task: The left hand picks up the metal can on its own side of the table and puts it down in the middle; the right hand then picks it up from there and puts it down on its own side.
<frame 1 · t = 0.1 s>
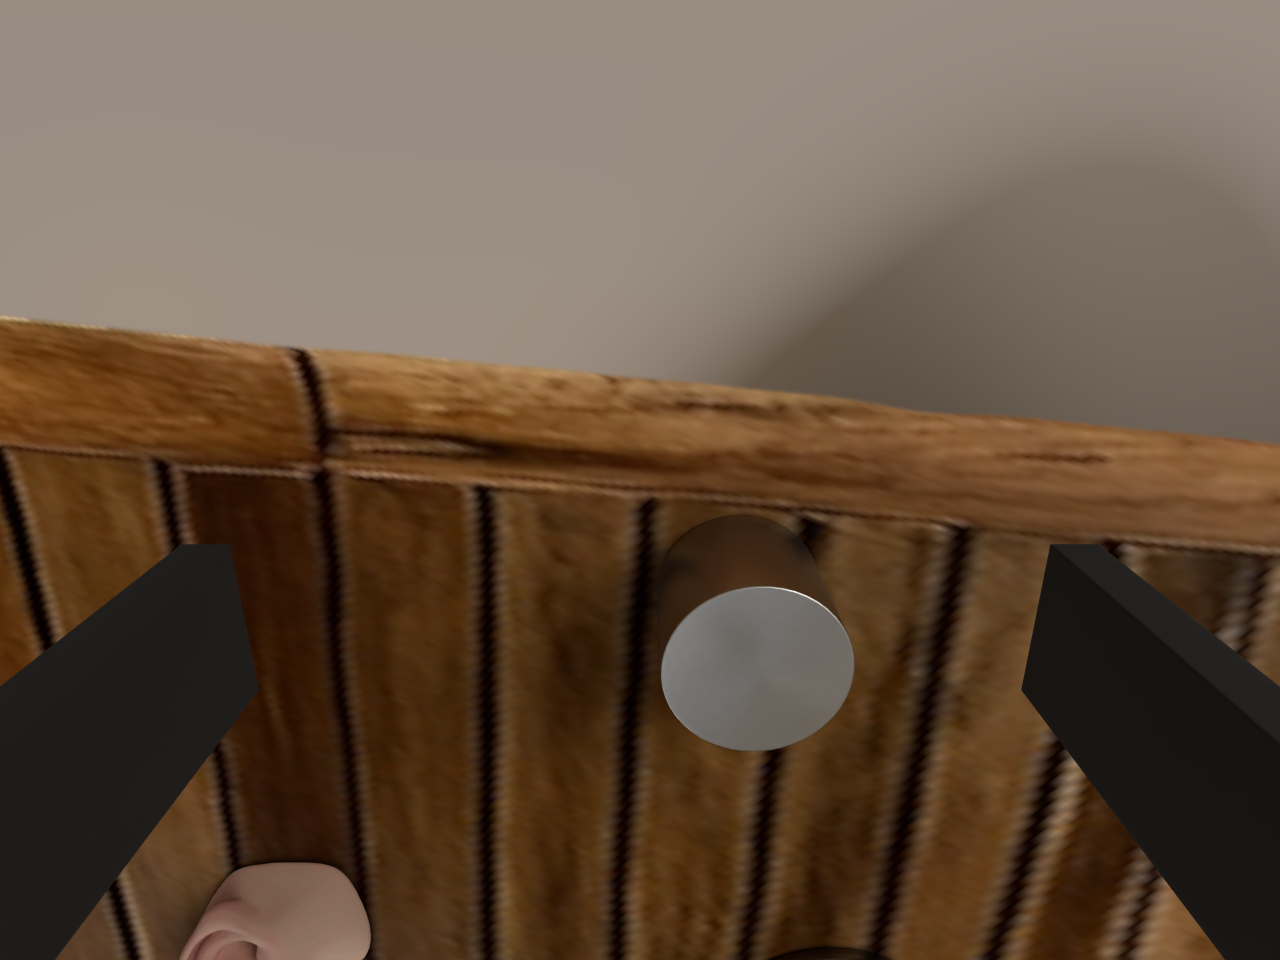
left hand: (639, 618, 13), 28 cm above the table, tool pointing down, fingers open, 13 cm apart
can: (737, 588, 44), on the table
anatomical model: (283, 927, 53), on the table
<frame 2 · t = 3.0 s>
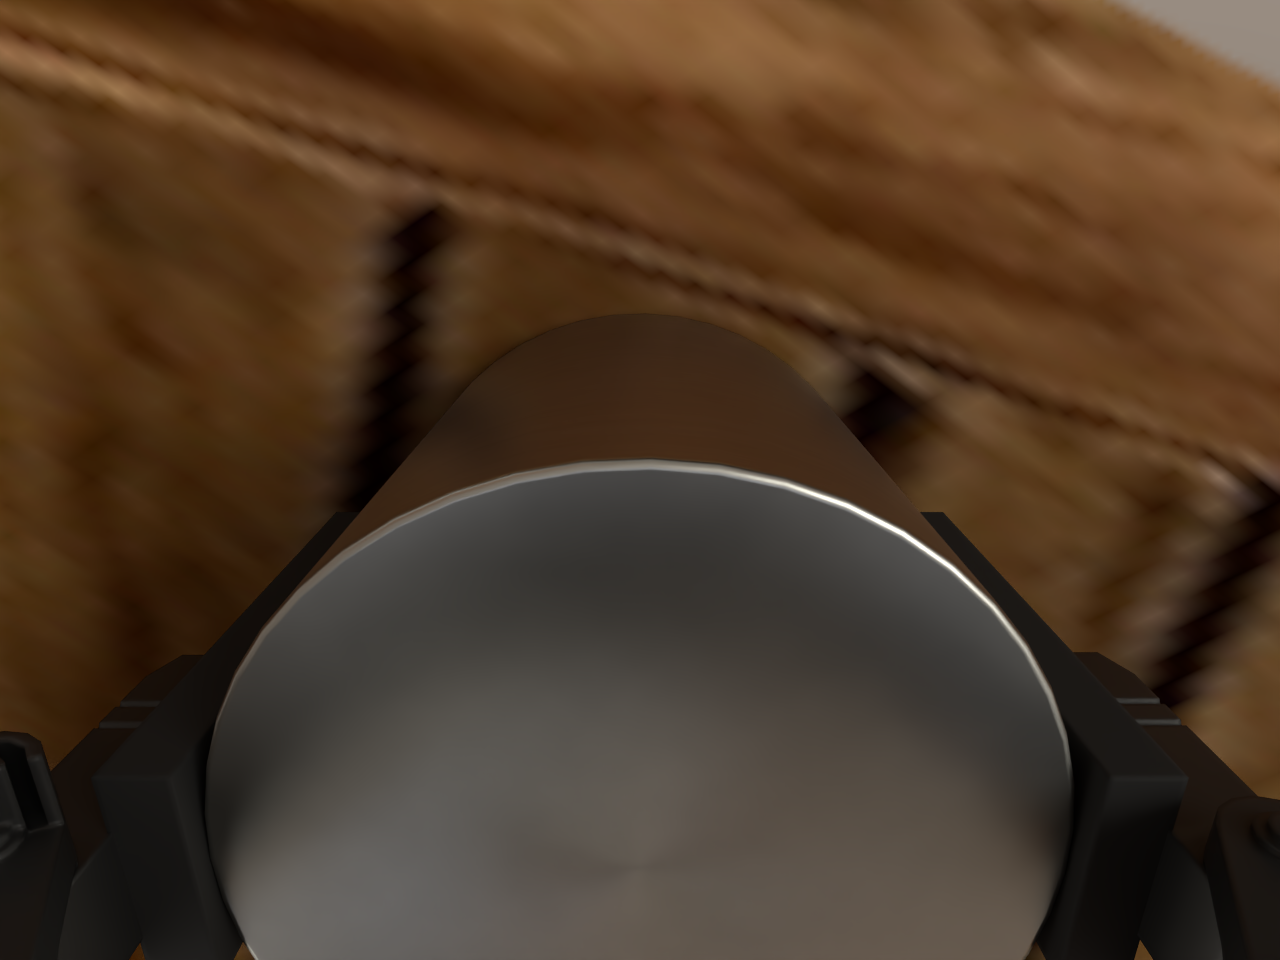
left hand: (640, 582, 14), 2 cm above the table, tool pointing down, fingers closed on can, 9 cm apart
can: (639, 538, 16), on the table, touching left hand
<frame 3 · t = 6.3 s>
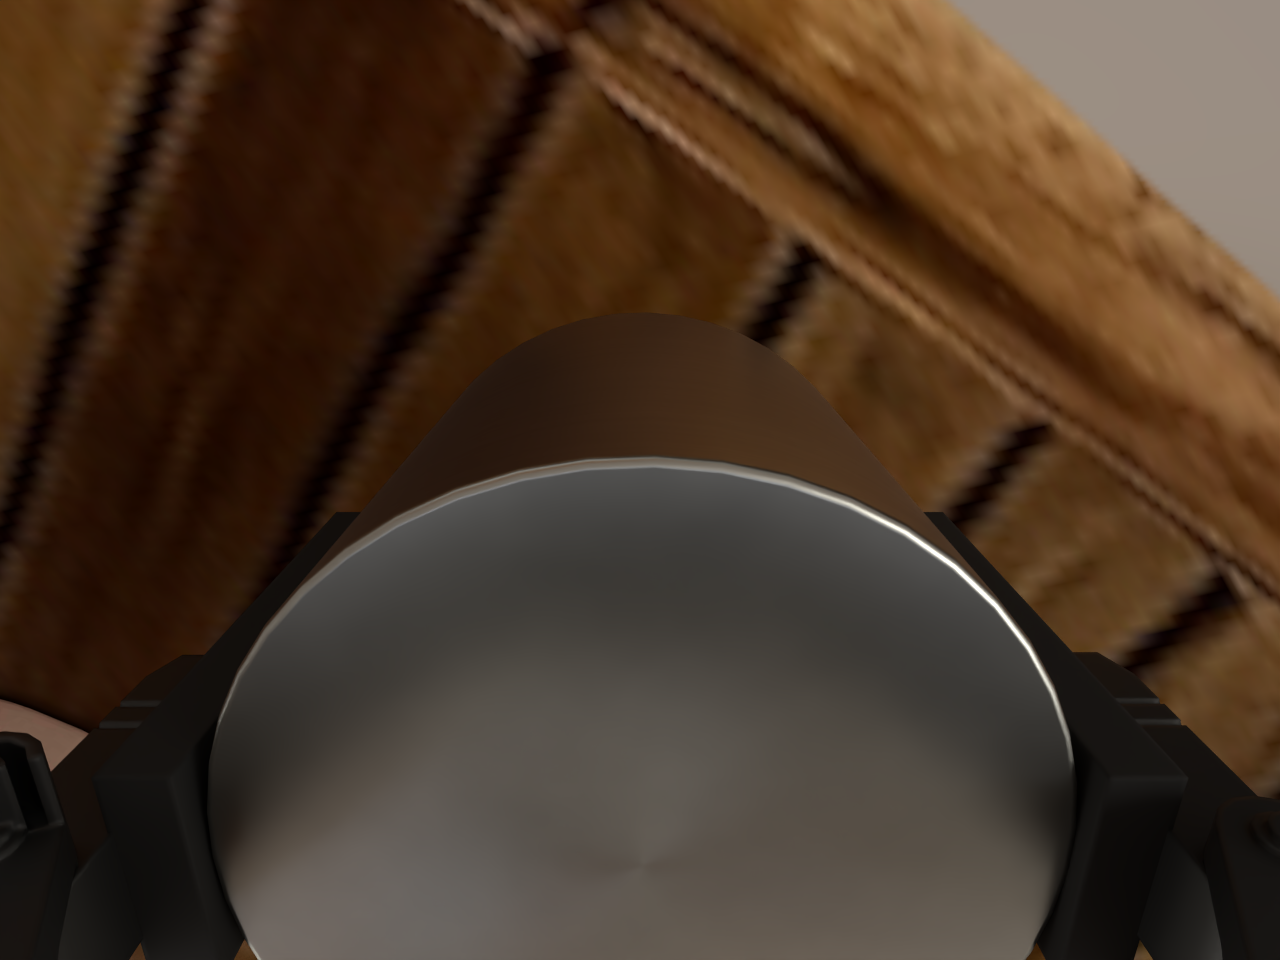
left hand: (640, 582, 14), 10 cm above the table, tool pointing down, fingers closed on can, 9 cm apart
can: (640, 537, 16), point 8 cm above the table, touching left hand
when the left hand's fingers open (3 cm above the table, at t = 9.8 s): can drops 2 cm, on the table.
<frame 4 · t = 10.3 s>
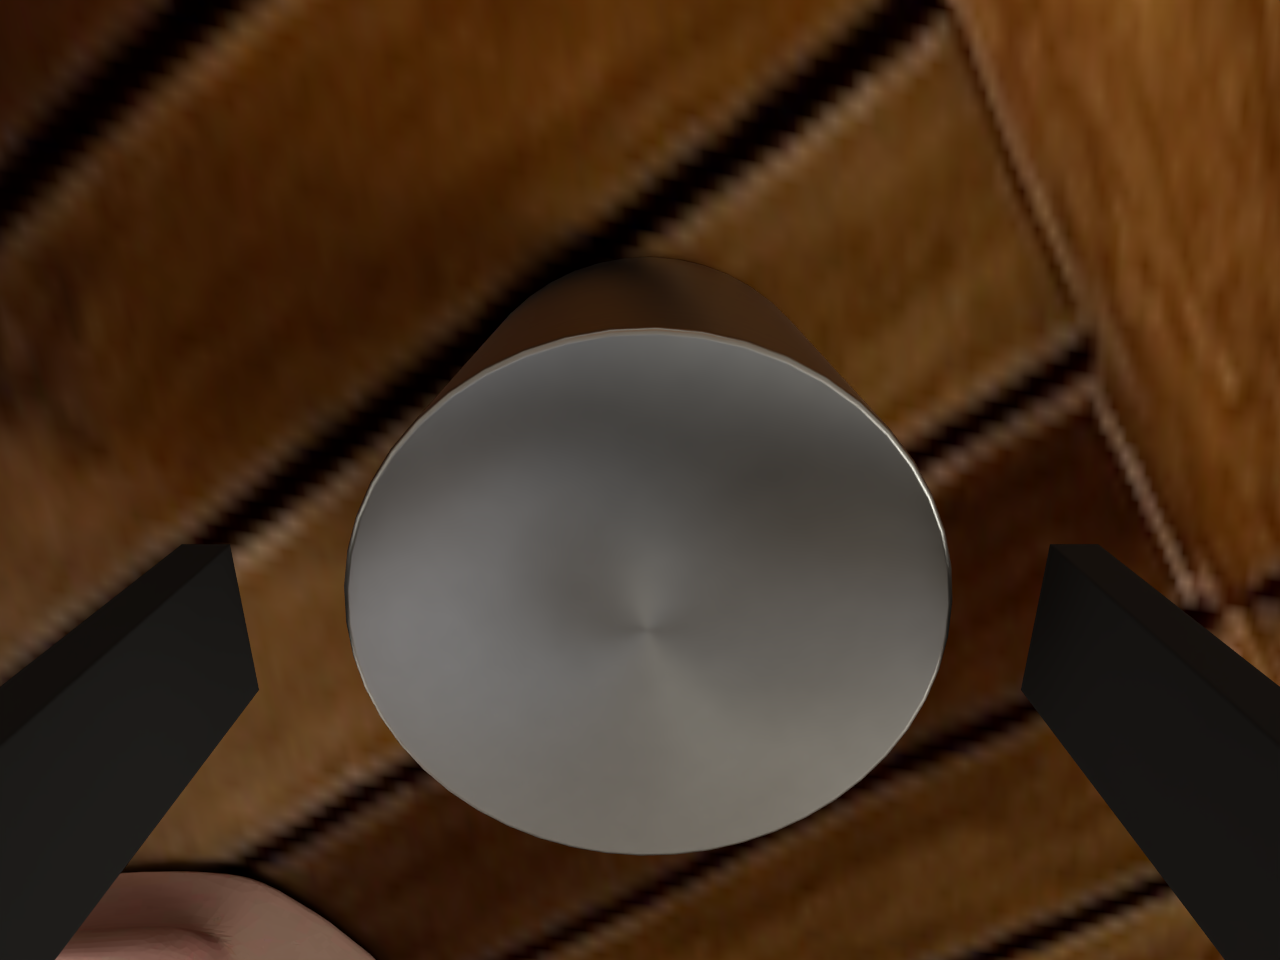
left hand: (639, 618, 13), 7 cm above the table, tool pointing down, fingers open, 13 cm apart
can: (646, 446, 19), on the table
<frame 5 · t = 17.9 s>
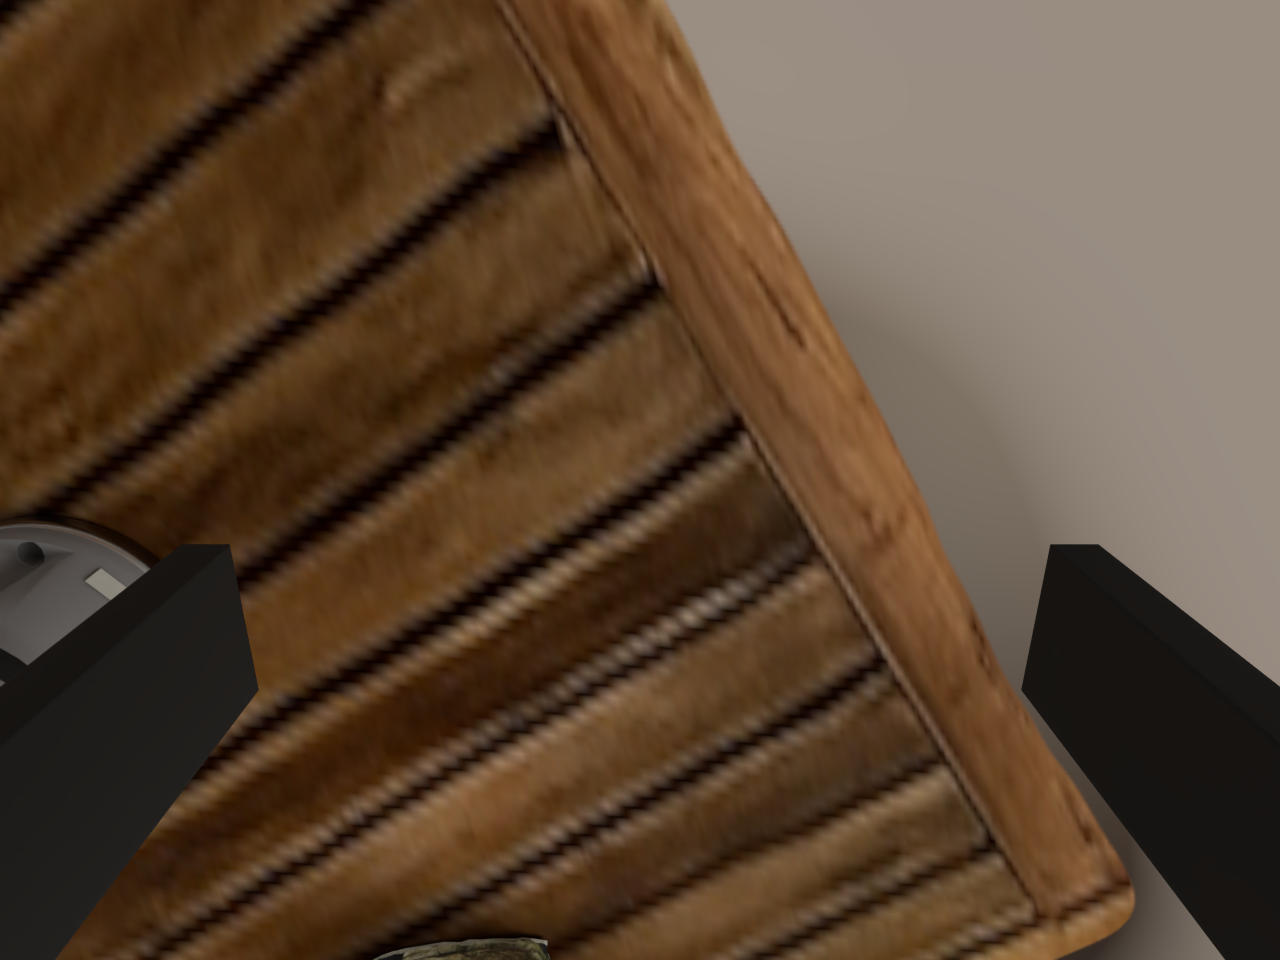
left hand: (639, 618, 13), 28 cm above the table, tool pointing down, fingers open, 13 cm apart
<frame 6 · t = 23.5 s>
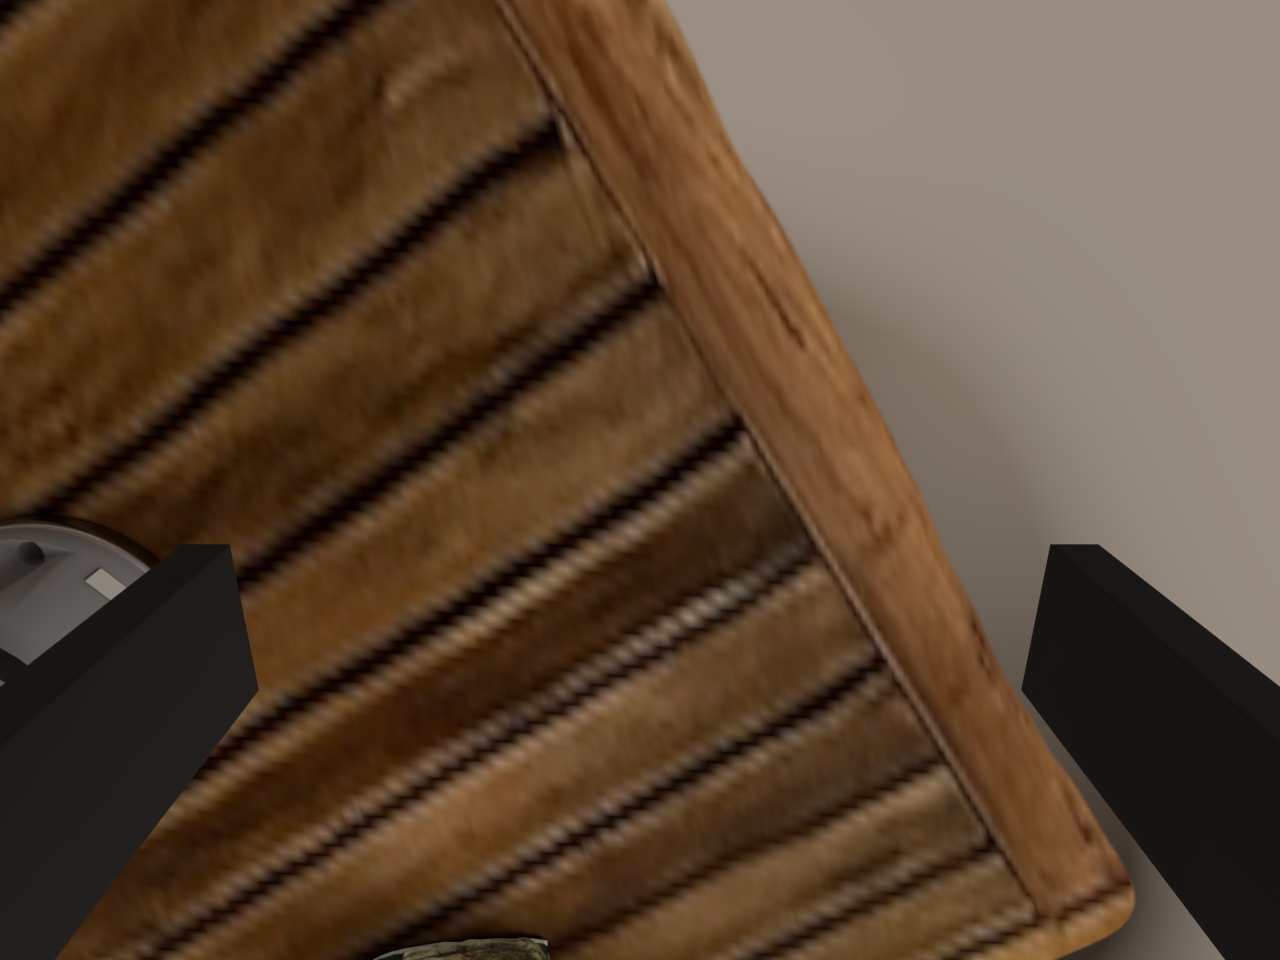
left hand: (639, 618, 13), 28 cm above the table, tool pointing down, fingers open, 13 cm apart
when the right hand's fingers open (3 cm above the table, at t = 29.5 s): can drops 2 cm, on the table.
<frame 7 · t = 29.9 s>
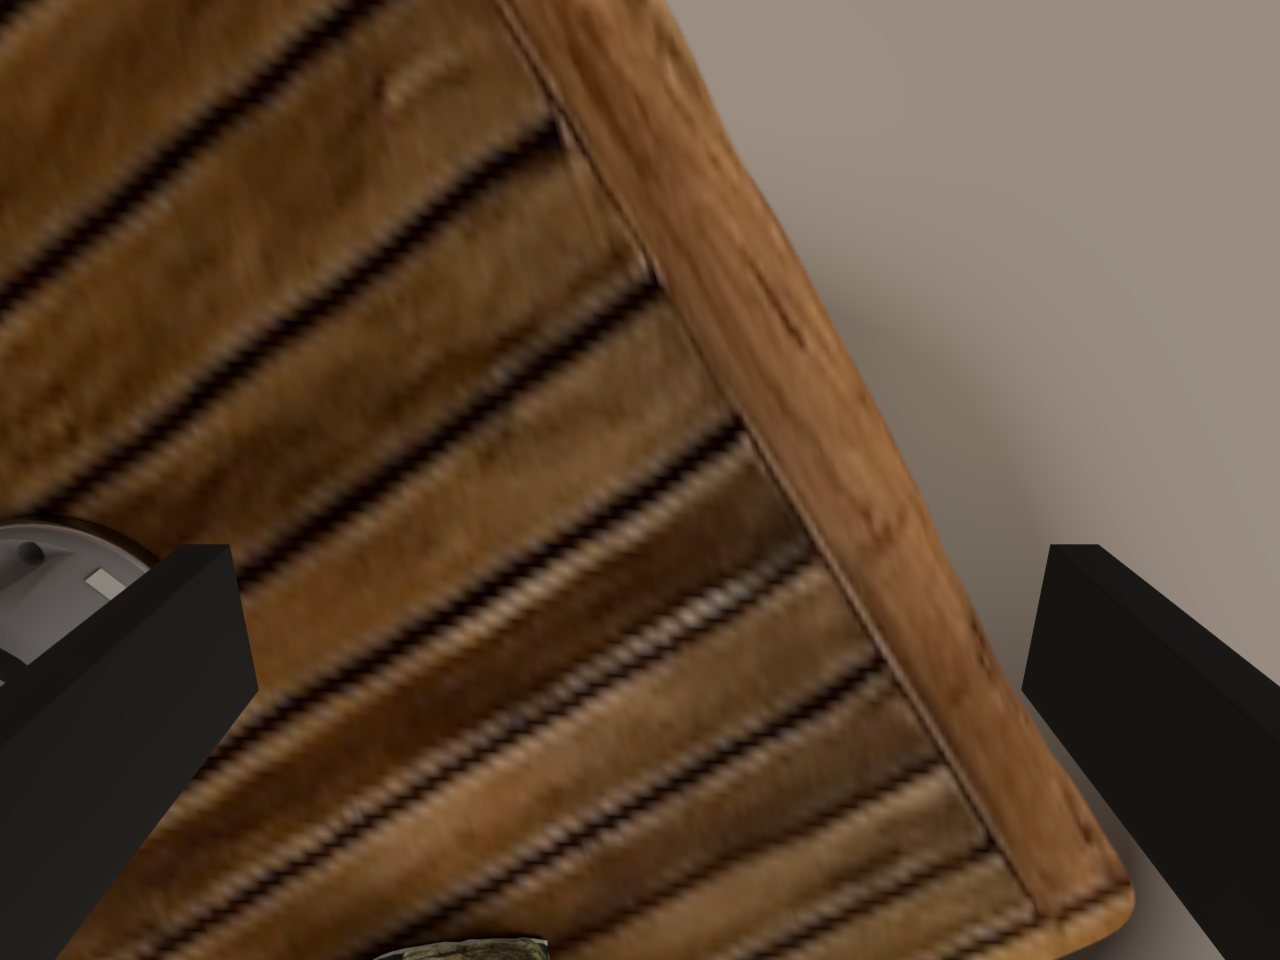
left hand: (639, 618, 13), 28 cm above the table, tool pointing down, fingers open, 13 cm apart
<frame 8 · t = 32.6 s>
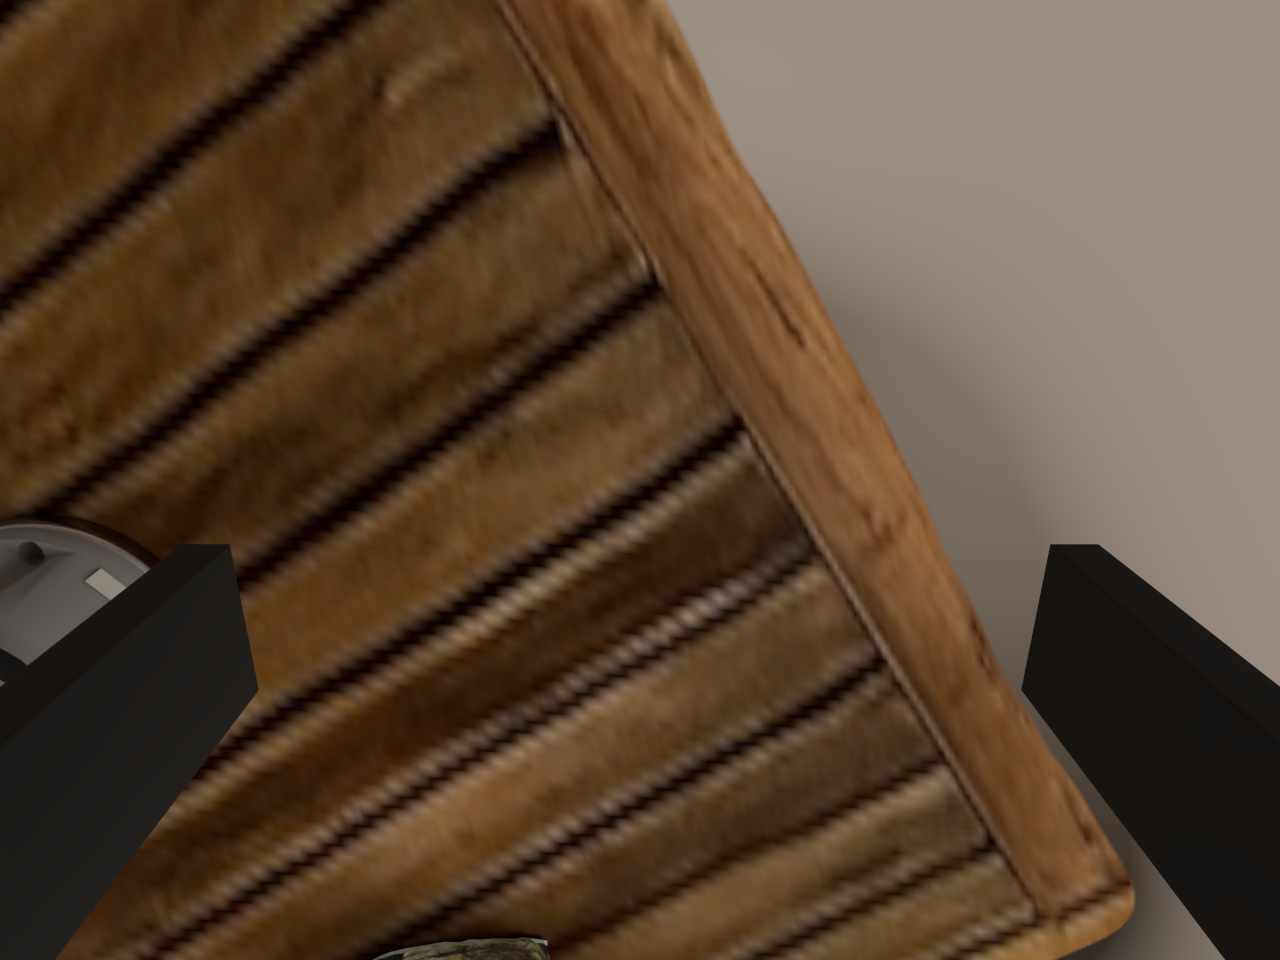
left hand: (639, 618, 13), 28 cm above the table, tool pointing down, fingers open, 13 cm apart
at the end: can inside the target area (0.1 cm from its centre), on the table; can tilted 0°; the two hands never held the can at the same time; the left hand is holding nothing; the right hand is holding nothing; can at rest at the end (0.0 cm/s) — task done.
